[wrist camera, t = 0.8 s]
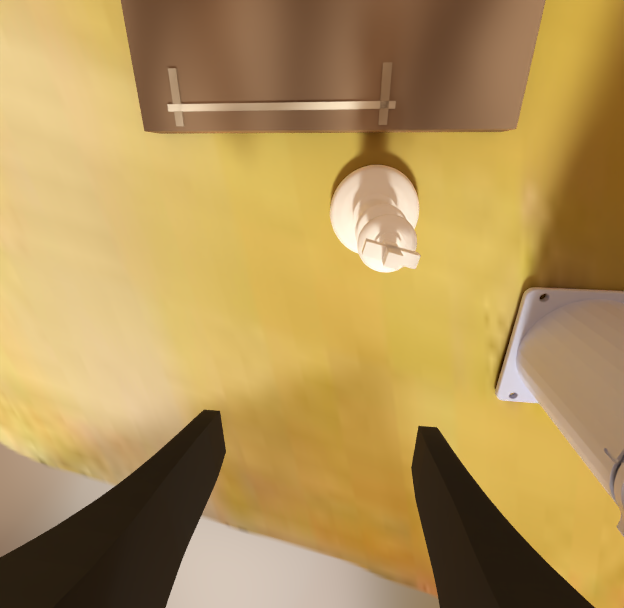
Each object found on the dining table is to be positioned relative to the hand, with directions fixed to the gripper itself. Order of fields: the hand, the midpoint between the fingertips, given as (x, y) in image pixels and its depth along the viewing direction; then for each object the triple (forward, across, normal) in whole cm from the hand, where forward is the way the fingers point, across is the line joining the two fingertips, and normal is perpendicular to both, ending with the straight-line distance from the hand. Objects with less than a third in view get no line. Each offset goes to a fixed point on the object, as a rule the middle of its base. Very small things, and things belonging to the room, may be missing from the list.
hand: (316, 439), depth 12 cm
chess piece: (+11, -2, -7) cm, 13 cm away
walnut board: (+10, +1, -15) cm, 18 cm away
